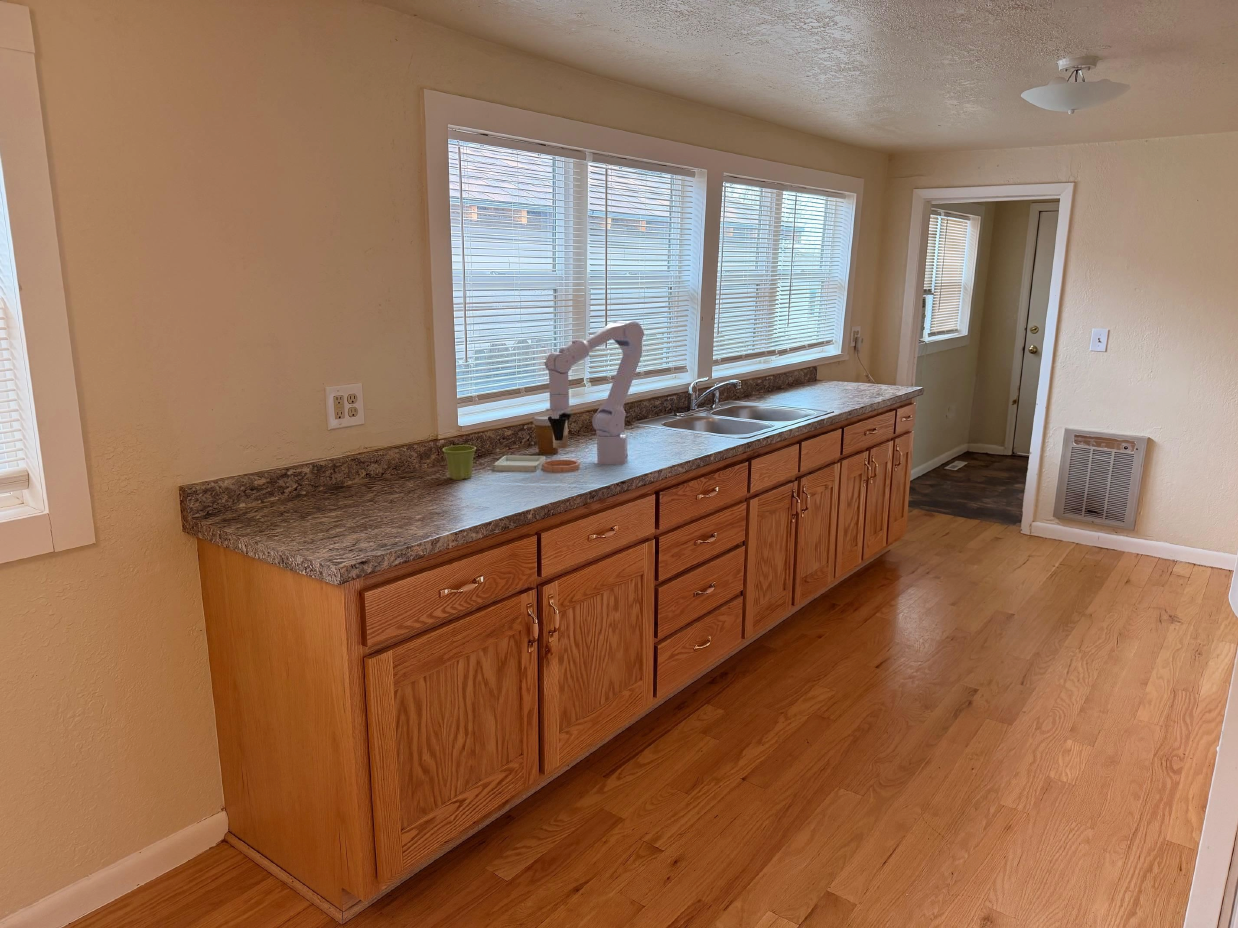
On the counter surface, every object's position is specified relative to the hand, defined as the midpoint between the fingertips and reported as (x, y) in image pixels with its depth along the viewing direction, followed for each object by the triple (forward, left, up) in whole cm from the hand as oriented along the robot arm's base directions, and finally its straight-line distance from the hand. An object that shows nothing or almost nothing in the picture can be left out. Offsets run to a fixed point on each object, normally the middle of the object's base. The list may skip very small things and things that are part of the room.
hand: (560, 439), depth 254 cm
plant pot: (+27, +13, -10) cm, 31 cm away
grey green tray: (+13, -2, -9) cm, 16 cm away
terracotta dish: (0, 0, -9) cm, 9 cm away
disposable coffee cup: (+9, -25, -10) cm, 28 cm away
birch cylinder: (0, 0, -2) cm, 2 cm away
